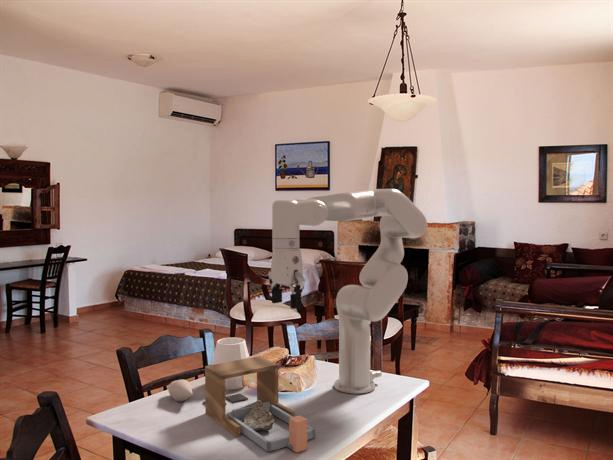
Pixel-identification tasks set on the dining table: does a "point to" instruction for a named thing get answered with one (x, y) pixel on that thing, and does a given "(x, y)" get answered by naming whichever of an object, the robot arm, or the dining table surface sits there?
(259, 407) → the rock sample
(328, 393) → the dining table surface
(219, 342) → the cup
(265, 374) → the brown wooden arch frame
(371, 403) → the dining table surface
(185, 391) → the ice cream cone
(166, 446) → the dining table surface
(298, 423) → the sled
